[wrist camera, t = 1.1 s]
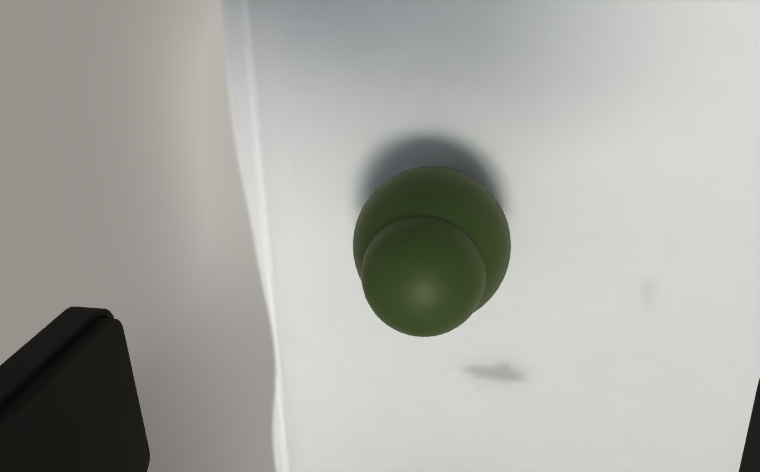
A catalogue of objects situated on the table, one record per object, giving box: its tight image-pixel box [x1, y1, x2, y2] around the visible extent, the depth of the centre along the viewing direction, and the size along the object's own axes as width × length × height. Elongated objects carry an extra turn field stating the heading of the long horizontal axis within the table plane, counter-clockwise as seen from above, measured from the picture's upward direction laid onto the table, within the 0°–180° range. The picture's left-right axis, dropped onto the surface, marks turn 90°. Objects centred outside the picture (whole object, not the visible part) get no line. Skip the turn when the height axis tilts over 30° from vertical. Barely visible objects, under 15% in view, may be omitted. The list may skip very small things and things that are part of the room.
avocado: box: [353, 167, 511, 337], centre depth 27 cm, size 6×6×8 cm
